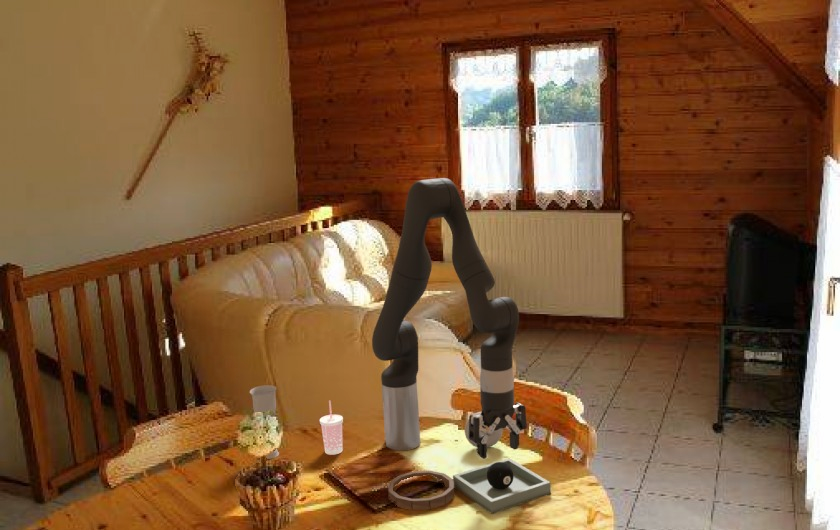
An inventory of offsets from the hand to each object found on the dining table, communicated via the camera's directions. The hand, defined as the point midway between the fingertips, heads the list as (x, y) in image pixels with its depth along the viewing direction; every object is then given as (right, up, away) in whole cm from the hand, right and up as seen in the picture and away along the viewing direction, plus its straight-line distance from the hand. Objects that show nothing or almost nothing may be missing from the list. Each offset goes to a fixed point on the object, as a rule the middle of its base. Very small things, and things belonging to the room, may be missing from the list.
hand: (498, 452), depth 185 cm
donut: (-1, -5, +25) cm, 26 cm away
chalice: (-58, -7, +29) cm, 65 cm away
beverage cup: (-41, -6, +29) cm, 50 cm away
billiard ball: (+1, -9, +1) cm, 9 cm away
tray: (+1, -9, +1) cm, 9 cm away
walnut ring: (-18, -10, +2) cm, 20 cm away
